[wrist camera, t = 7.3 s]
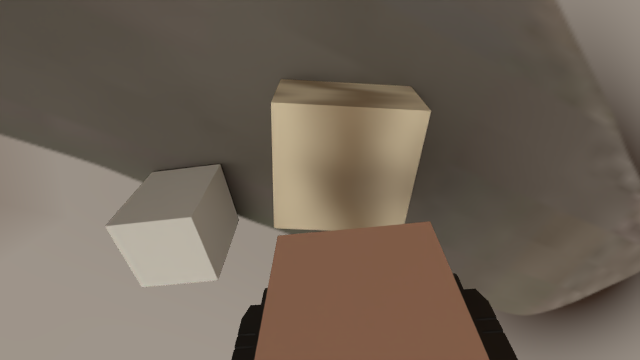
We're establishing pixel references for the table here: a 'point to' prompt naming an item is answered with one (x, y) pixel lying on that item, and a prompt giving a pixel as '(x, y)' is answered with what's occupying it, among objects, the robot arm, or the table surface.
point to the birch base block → (344, 153)
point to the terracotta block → (365, 298)
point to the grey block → (176, 226)
